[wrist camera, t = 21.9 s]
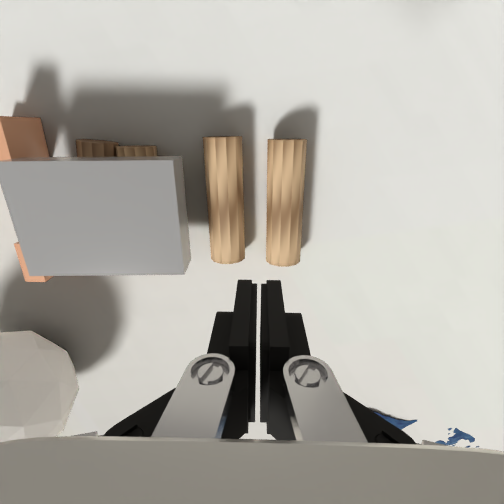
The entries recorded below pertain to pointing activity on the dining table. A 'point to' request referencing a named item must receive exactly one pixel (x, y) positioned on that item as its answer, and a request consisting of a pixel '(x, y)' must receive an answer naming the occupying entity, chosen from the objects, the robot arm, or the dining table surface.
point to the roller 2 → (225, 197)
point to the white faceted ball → (34, 386)
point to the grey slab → (99, 214)
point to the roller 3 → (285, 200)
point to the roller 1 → (96, 148)
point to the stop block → (18, 146)
